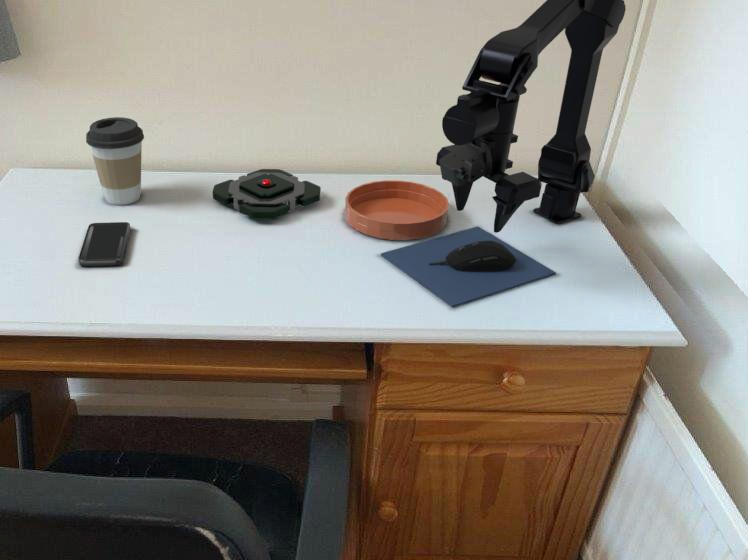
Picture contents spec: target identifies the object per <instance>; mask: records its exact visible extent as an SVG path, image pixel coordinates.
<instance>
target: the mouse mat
mask: <svg viewBox="0 0 748 560" xmlns="http://www.w3.org/2000/svg"><path fill="white" fill-rule="evenodd" d="M478 241H494V242H497V243H500V244H502V245H503V246H504V247H506V248H507V249H508V250H509V251H510V252H511V253H512V254H513V255H514V256H515V258H516V262H515V263H514V265H513V266H512V267H510V268H508V269H503V270H500V271H461V270H457V269H454V268H453V267H451V266H450V265H448V263H446V264H433V265H429V263H431V262H439V261H442V260H443V261H444V260H446V259H445V258H446V257H447V255H448V254H449V253H450V252H451V251H453V250H454V249H456V248H459V247H462V246H464V245H467V244H471V243H474V242H478ZM380 256H381V257H383V259H385V260H386V261H388V262H389V263H391V264H392V265H393V266H395V267H396V268H398V269H399V270H400V271H401V272H403V273H404V274H406V275H407V276H408V277H409V278H411V279H412V280H414V281H416V282H417V283H418V284H419V285H421V286H422V287H423V288H425V289H426V290H427V291H429V292H430V293H432V294H433V295H434V296H436V297H437V298H438V299H440V300H441V301H442V302H444V303H445V304H447V305H448V306H450V307H451V308H456V307H459V306H462V305H466V304H468V303H471V302H474V301H478V300H480V299H483V298H484V299H485V298H486V297H490V296H494V295H495V294H500V293H502V292H505V291H508V290H509V291H510V290H511V289H515V288H518V287H521V286H524V285H527V284H530V283H534V282H537V281H539V280H542V279H545V278H548V277H551V276H555V275H556V274H557V272H556V271H554V270H553V269H551V268H550V267H548V266H547V265H546V266H545V265H544V264H543V263H540V261H537V260H536V259H534V258H533V257H531V256H529V255H527V254H526V253H524V252H522V251H520V250H519V249H517V248H515V247H514V246H512V245H510V244H509V243H507V242H506V241H503V240H502V239H500V238H498V237H497V236H495V235H493V234H492V233H490V232H488V231H487V230H485V229H483V228H481V227H480V226H473V227H470V228H467V229H464V230H463V229H462V230H459V231H456V232H453V233H448V234H445V235H441V236H438V237H434V238H431V239H428V240H427V239H426V240H423V241H420V242H417V243H413V244H410V245H406V246H403V247H398V248H396V249H395V248H394V249H391V250H388V251H385V252H381V253H380Z"/></svg>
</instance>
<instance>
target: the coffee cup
mask: <svg viewBox="0 0 748 560" xmlns="http://www.w3.org/2000/svg"><path fill="white" fill-rule="evenodd" d="M144 139H145V134H144V131H143V128H141V127H140V126H139V125H138V122H137V121H135V120H134V119H132V118H129V117H128V118H127V117H122V116H121V117H119V116H115V117H107V118H101V119H98V120H96V121H94V122H92V123H91V124H90V125H89V130H88V131H87V132H86V133H85V142H86V144H87V145H88V146H89V147H90V151H91V156H92V159H93V162H94V166H95V169H96V170H95V171H96V172H97V177H98V179H99V184H100V187H101V191H102V195H103V197H104V199H105V201H106V203H108V204H110V205H115V206H126V205H131V204H133V203H136V202H138V201H139V200H140V199H141V193H142V147H143V146H142V143H143V140H144Z"/></svg>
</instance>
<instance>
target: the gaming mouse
mask: <svg viewBox="0 0 748 560" xmlns="http://www.w3.org/2000/svg"><path fill="white" fill-rule="evenodd" d="M445 259H446V260H444V261H443V260H442V261H439V262H431V263H429V265H433V264H446V263H448V265H450V266H451V267H453V268H454V269H457V270H461V271H500V270H503V269H508V268H510V267H512V266H513V265H514V263H515V262H516V258H515V256H514V255H513V254H512V253H511V252H510V251H509V250H508V249H507V248H506V247H504V246H503V245H502V244H500V243H497V242H494V241H478V242H474V243H471V244H467V245H464V246H462V247H459V248H456V249H454V250H453V251H451V252H450V253H449V254H448V255H447V257H446V258H445Z"/></svg>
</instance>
